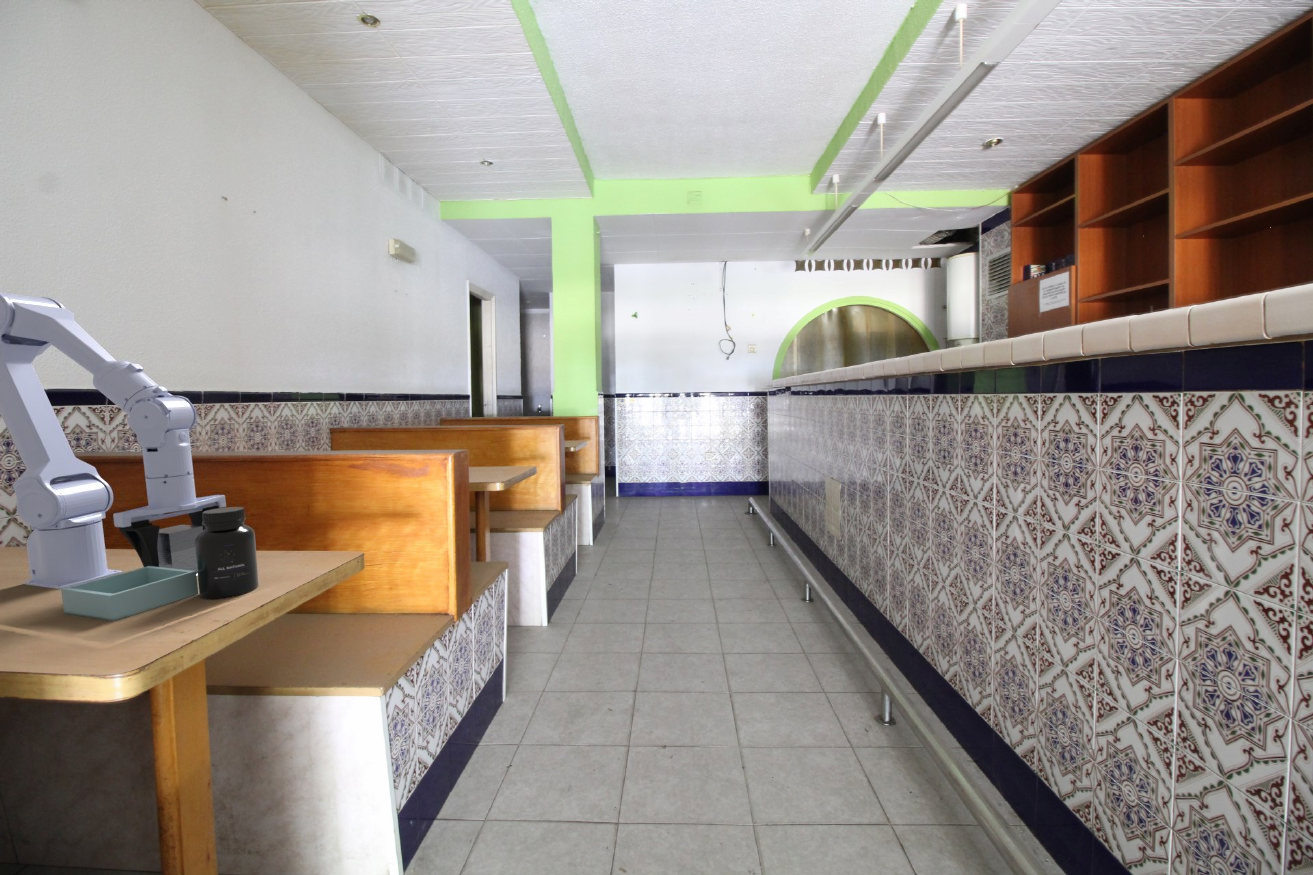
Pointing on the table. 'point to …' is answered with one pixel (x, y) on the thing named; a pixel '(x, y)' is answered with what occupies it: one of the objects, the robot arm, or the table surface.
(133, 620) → the table surface
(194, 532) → the block
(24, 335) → the robot arm
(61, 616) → the table surface
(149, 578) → the bin
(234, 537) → the supplement bottle
